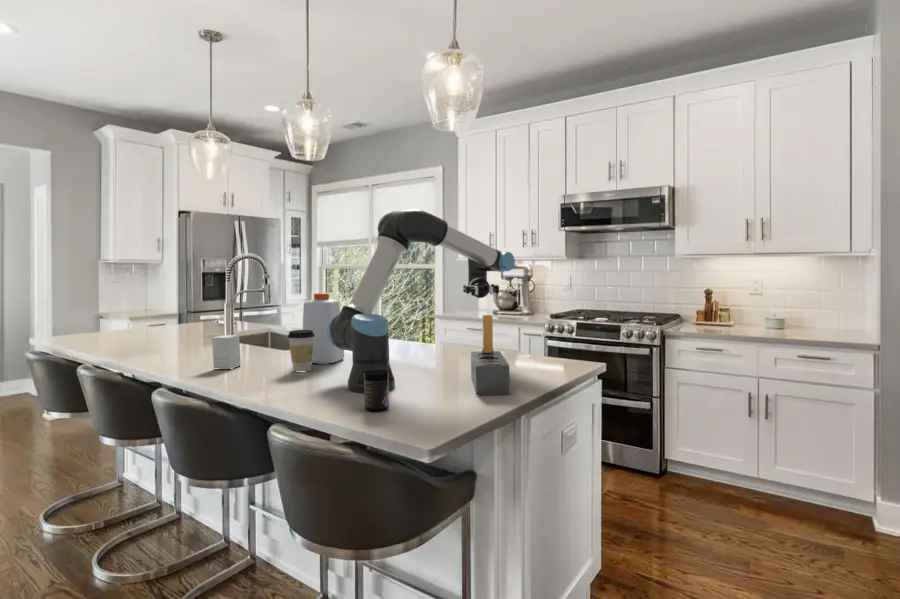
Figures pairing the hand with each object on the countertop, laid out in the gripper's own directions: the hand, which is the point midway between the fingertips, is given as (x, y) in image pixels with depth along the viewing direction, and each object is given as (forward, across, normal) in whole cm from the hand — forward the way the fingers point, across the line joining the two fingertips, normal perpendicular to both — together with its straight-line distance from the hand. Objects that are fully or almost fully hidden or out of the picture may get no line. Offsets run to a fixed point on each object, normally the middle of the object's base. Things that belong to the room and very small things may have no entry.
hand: (484, 290), depth 188 cm
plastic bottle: (-35, +64, -30) cm, 79 cm away
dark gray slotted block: (+7, 0, -30) cm, 31 cm away
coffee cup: (-15, +68, -30) cm, 76 cm away
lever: (+11, 0, -20) cm, 22 cm away
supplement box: (-23, +98, -30) cm, 106 cm away
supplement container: (+40, +33, -30) cm, 60 cm away
